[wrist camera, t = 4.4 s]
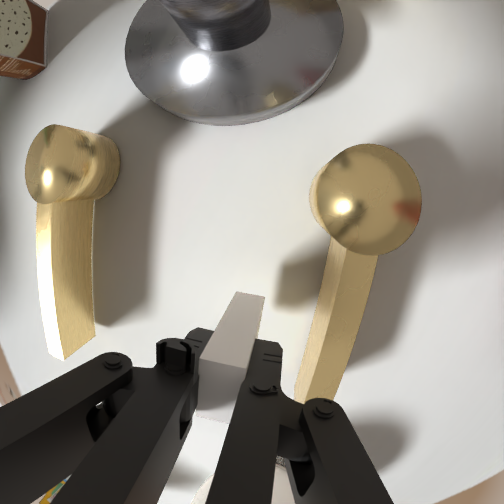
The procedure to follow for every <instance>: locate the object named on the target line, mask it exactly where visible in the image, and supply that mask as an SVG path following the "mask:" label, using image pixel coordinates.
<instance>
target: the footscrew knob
mask: <svg viewBox="0 0 504 504" xmlns="http://www.w3.org/2000/svg"><path fill="white" fill-rule="evenodd" d="M119 169H120V157H119V152H118V149H117V147H116V145H115V143H114V142H113V141H112V140H111V139H110V138H108V137H106V136H102V135H99V134H95V133H91V132H87V131H83V130H78V129H74V128H70V127H66V126H61V125H56V124H54V125H49V126H47V127H45V128H44V129H43V130H41V131H40V132H39V133H38V135H37V136H36V137H35V139H34V140H33V142H32V144H31V146H30V149H29V151H28V155H27V159H26V165H25V179H26V185H27V188H28V191H29V193H30V195H31V196H32V198H33V199H34V200H35V201H36V202H37V217H36V247H37V269H38V282H39V292H40V300H41V308H42V315H43V321H44V327H45V333H46V338H47V343H48V348H49V353H50V354H52V355H54V356H56V357H57V358H59V359H61V360H63V361H64V360H65V359H66V358H68V357H69V356H70V355H71V354H73V353H74V352H75V351H77V350H78V349H79V348H80V347H82V346H83V345H84V344H86V343H87V342H88V341H89V340H91V339H92V338H93V337H95V326H94V314H93V299H92V269H91V251H92V221H93V205H94V200H97V199H100V198H102V197H104V196H105V195H106V194H107V193H108V192H109V191H110V190H111V189H112V187H113V186H114V184H115V182H116V180H117V177H118V174H119Z"/></svg>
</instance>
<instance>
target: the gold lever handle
mask: <svg viewBox="0 0 504 504" xmlns="http://www.w3.org/2000/svg"><path fill="white" fill-rule="evenodd" d="M309 202H310V207H311V211H312V213H313V216H314V218H315V219H316V221H317V222H318V223H319V225H320V226H321V227H322V228H323V229H324V230H325V231H326V232H327V233H329V234H330V235H331V240H330V245H329V250H328V255H327V260H326V265H325V270H324V275H323V279H322V284H321V288H320V293H319V297H318V301H317V305H316V310H315V314H314V318H313V322H312V326H311V330H310V333H309V337H308V341H307V345H306V348H305V352H304V356H303V359H302V363H301V366H300V370H299V373H298V377H297V380H296V383H295V387H294V401H297V402H299V403H302V404H305V402H306V401H308V400H310V399H313V398H326V399H330V400H333V399H334V397H335V394H336V392H337V389H338V387H339V384H340V381H341V379H342V376H343V373H344V371H345V368H346V365H347V362H348V360H349V357H350V354H351V351H352V348H353V345H354V342H355V339H356V336H357V333H358V330H359V327H360V323H361V320H362V317H363V313H364V310H365V306H366V303H367V299H368V296H369V292H370V288H371V284H372V280H373V276H374V272H375V268H376V264H377V260H378V255H381V254H385V253H388V252H391V251H393V250H395V249H396V248H398V247H399V246H401V245H402V244H403V243H404V242H405V241H406V240H407V239H408V238H409V237H410V236H411V234H412V233H413V231H414V229H415V227H416V226H417V223H418V220H419V217H420V213H421V205H422V199H421V190H420V186H419V183H418V180H417V177H416V175H415V173H414V171H413V170H412V168H411V167H410V165H409V164H408V163H407V162H406V161H405V160H404V159H403V158H402V157H401V156H400V155H399V154H397V153H396V152H394V151H393V150H391V149H389V148H387V147H384V146H381V145H376V144H360V145H356V146H352V147H350V148H347V149H345V150H344V151H342V152H341V153H339V154H338V155H337V156H336V157H334V158H333V159H332V160H331V161H330V162H328V163H327V164H326V165H325V166H324V167H322V168H321V169H320V170H319V171H318V173H317V174H316V175H315V177H314V179H313V181H312V184H311V187H310V193H309Z"/></svg>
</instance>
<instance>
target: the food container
mask: <svg viewBox="0 0 504 504" xmlns="http://www.w3.org/2000/svg"><path fill="white" fill-rule="evenodd" d="M47 24H48V10H46V9H45V8H43V7H42V6H40V5H39V4H37V3H36V2H34V1H33V0H0V76H5V77H12V78H18V79H23V80H24V79H30V78H32V77H34V76H36V75H37V74H39V73H40V72H41V71H43V70H44V69H45V68H46V67H47V64H46V47H47Z"/></svg>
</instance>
